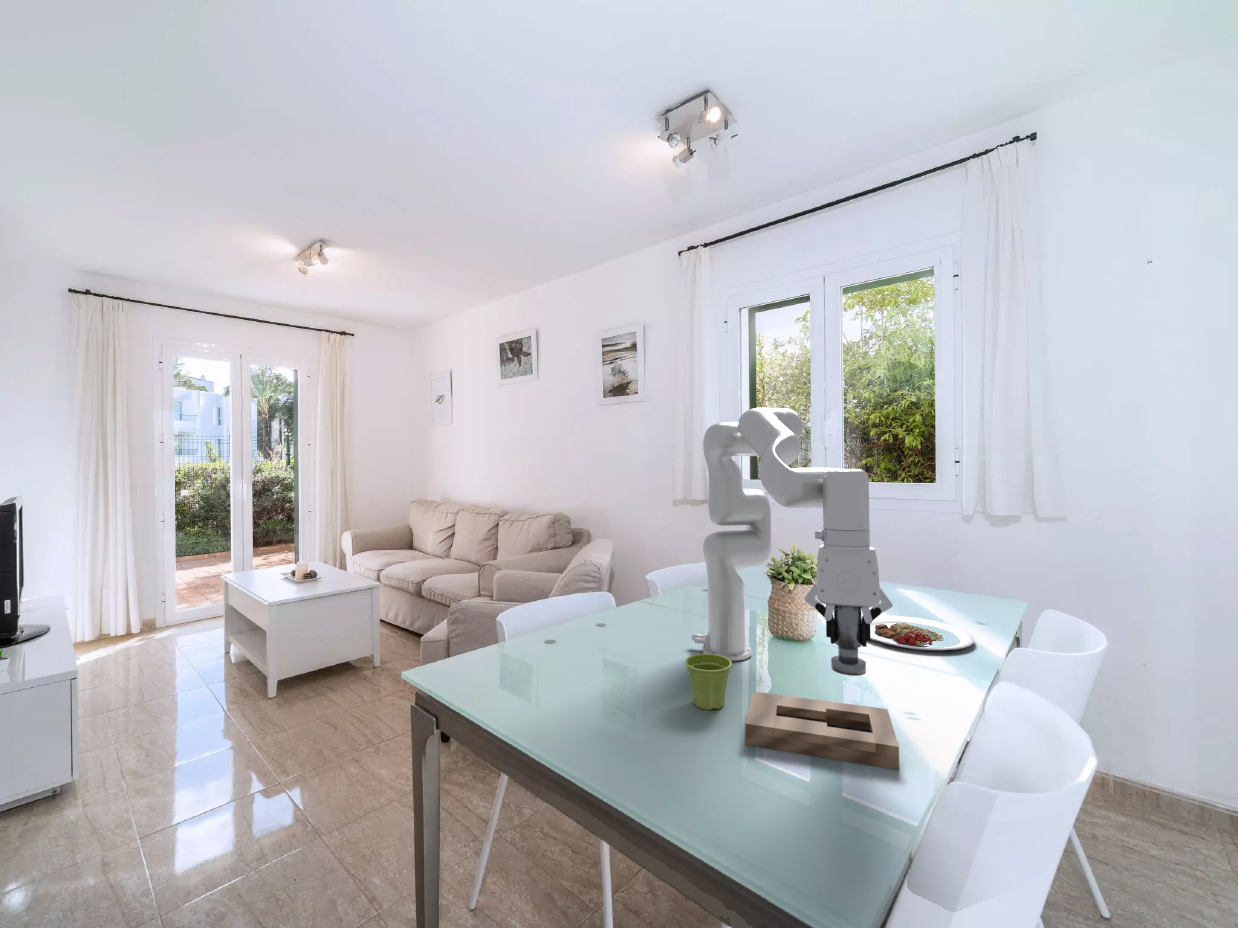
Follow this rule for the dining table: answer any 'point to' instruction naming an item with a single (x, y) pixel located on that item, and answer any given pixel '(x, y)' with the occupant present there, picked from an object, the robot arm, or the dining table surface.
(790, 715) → the keyhole plate
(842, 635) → the peg
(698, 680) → the plant pot
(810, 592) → the robot arm
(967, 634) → the plated food
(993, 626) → the dining table surface
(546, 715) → the dining table surface
